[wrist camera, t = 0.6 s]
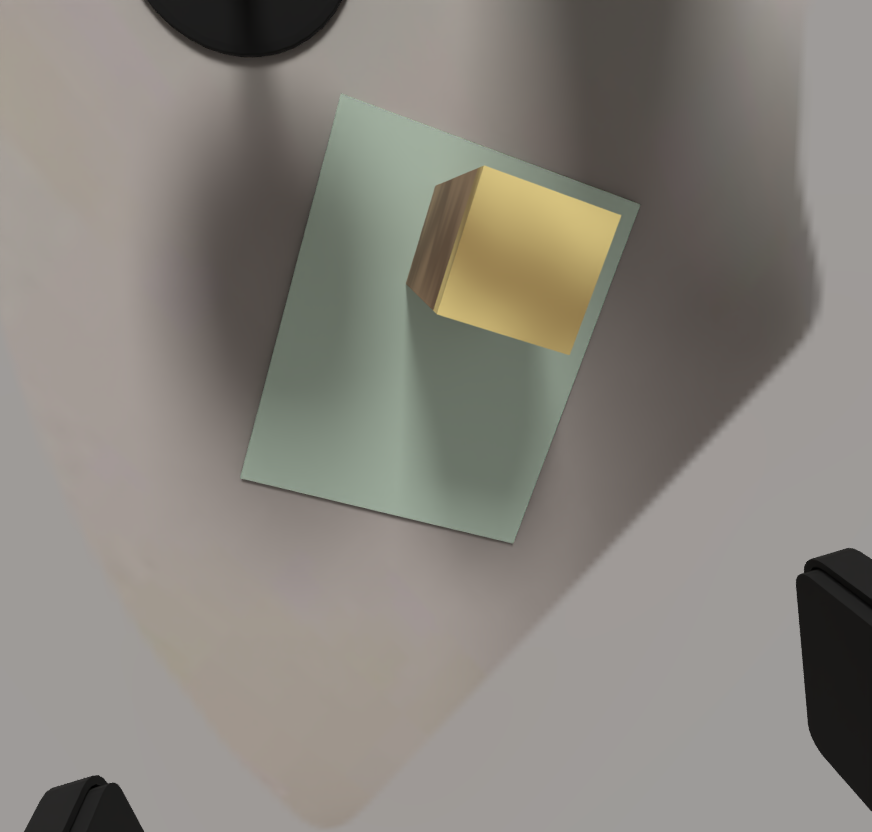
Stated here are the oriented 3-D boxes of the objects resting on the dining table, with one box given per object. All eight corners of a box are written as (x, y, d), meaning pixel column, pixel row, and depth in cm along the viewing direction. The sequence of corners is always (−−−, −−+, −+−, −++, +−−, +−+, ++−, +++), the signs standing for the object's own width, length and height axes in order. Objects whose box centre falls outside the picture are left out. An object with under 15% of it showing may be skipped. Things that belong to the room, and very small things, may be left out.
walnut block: (435, 185, 33) (484, 165, 21) (527, 218, 34) (621, 215, 22) (405, 283, 34) (436, 314, 22) (495, 312, 35) (569, 355, 23)
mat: (341, 94, 31) (341, 93, 31) (638, 204, 35) (640, 204, 34) (240, 476, 36) (240, 478, 36) (511, 541, 39) (513, 543, 39)
